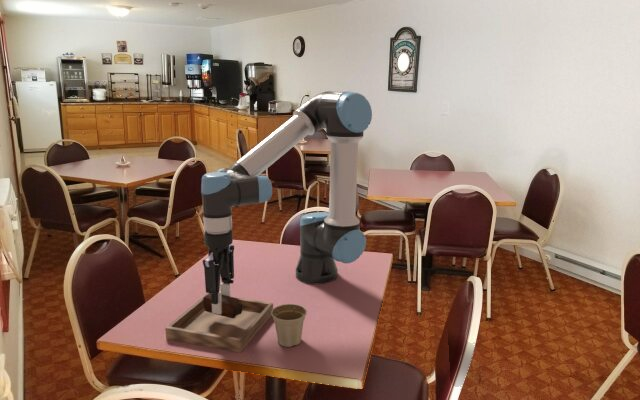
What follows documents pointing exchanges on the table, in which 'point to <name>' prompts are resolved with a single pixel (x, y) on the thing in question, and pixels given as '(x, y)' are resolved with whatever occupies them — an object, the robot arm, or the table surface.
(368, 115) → the robot arm
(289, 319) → the flower pot
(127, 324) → the table surface
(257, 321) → the tray
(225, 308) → the brick
